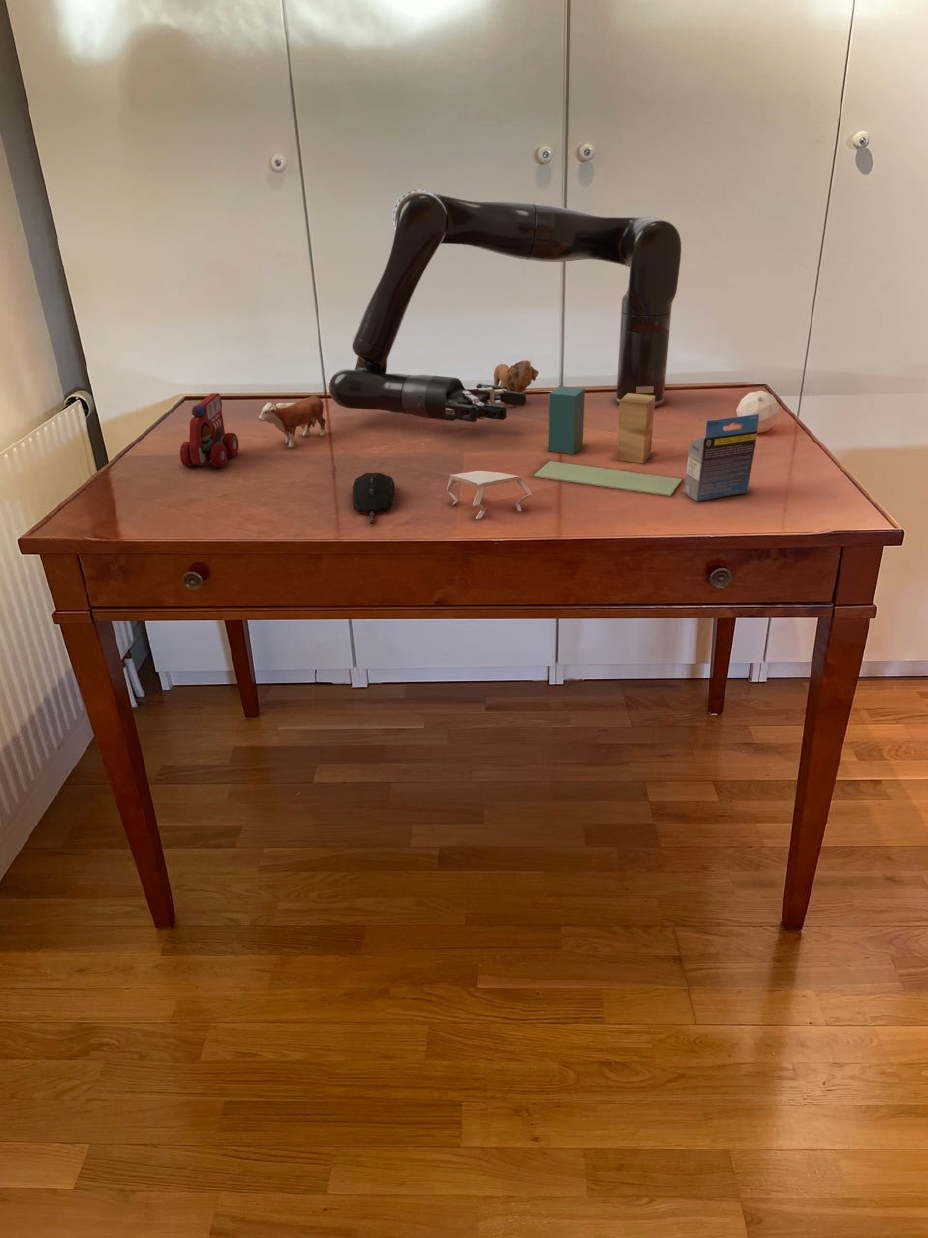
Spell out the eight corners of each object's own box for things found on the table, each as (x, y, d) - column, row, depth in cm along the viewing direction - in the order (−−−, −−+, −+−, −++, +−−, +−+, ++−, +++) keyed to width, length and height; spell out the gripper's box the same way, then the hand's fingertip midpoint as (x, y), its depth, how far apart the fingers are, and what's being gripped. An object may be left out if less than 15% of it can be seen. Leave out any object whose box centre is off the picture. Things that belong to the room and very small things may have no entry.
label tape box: (733, 485, 135) (744, 405, 129) (749, 494, 132) (760, 413, 126) (683, 493, 133) (691, 413, 127) (697, 503, 129) (706, 421, 123)
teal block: (557, 442, 154) (559, 385, 149) (582, 446, 153) (585, 388, 148) (548, 451, 151) (549, 393, 146) (573, 454, 149) (575, 395, 144)
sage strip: (549, 462, 146) (549, 460, 146) (682, 480, 137) (682, 478, 137) (533, 476, 141) (533, 475, 140) (670, 496, 132) (670, 494, 132)
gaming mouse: (349, 525, 126) (347, 499, 124) (355, 487, 139) (352, 462, 137) (393, 523, 126) (391, 497, 124) (395, 485, 139) (393, 461, 137)
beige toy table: (453, 523, 126) (452, 490, 123) (446, 501, 133) (445, 470, 130) (536, 516, 127) (536, 484, 124) (524, 495, 134) (525, 464, 132)
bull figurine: (259, 449, 156) (252, 403, 152) (319, 430, 165) (314, 386, 160) (274, 454, 154) (268, 408, 149) (334, 434, 162) (329, 390, 158)
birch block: (624, 451, 150) (628, 392, 145) (650, 454, 148) (655, 395, 143) (615, 460, 146) (619, 400, 141) (643, 463, 144) (647, 403, 139)
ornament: (785, 429, 157) (789, 402, 150) (746, 447, 157) (749, 420, 150) (766, 401, 160) (769, 373, 153) (728, 419, 160) (729, 391, 153)
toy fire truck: (177, 473, 147) (164, 411, 141) (206, 448, 157) (196, 390, 152) (216, 474, 146) (205, 412, 140) (243, 449, 156) (234, 390, 151)
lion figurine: (541, 406, 174) (542, 360, 169) (519, 411, 171) (520, 364, 167) (498, 390, 184) (498, 346, 180) (477, 395, 182) (476, 350, 177)
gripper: (412, 386, 151) (498, 395, 145) (450, 366, 162) (531, 374, 156) (415, 428, 155) (499, 439, 149) (451, 406, 166) (531, 416, 160)
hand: (515, 406), depth 152 cm, fingers open, 8 cm apart
